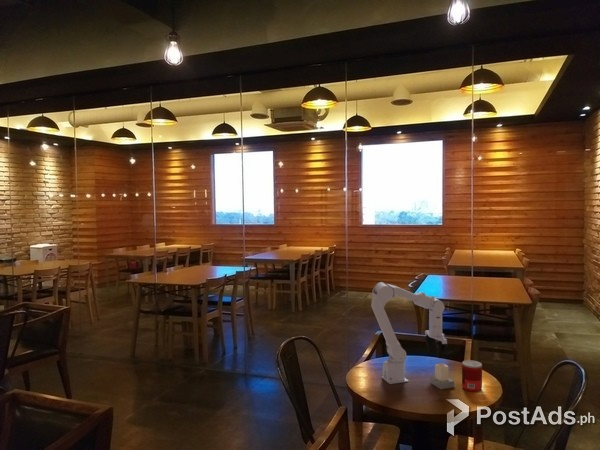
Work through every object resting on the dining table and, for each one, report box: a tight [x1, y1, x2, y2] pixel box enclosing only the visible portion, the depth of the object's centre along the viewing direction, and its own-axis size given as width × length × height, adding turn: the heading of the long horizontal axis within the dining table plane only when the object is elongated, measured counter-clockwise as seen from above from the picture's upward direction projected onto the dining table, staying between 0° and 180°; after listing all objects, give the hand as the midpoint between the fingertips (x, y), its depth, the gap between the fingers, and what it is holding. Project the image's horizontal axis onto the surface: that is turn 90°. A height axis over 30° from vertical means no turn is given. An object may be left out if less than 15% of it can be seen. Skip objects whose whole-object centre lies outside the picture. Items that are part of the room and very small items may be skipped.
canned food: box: [461, 359, 483, 393], centre depth 187 cm, size 8×8×11 cm
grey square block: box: [430, 376, 455, 390], centre depth 192 cm, size 7×7×3 cm
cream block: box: [434, 363, 450, 381], centre depth 191 cm, size 4×4×6 cm
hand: (435, 354), depth 199 cm, fingers open, 7 cm apart
